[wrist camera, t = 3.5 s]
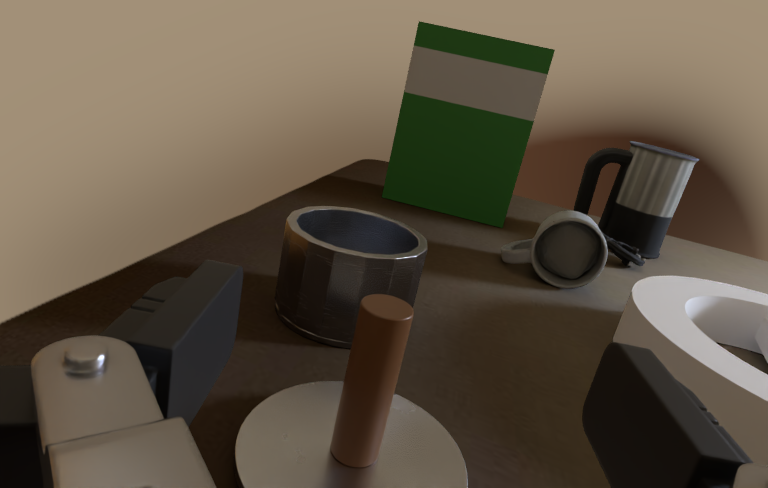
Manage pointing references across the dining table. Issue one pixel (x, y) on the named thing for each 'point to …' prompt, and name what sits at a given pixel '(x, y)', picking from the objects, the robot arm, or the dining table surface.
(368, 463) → the bowl lid
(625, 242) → the milk frother
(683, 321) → the ring with crossbar
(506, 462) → the dining table surface
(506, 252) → the ceramic mug
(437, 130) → the hardback book
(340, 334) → the bowl
